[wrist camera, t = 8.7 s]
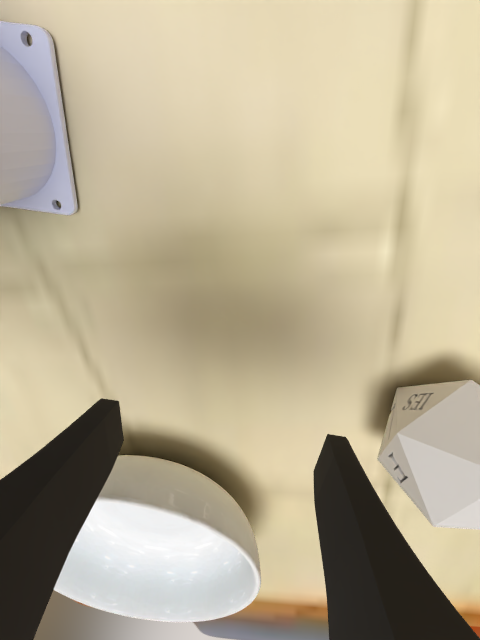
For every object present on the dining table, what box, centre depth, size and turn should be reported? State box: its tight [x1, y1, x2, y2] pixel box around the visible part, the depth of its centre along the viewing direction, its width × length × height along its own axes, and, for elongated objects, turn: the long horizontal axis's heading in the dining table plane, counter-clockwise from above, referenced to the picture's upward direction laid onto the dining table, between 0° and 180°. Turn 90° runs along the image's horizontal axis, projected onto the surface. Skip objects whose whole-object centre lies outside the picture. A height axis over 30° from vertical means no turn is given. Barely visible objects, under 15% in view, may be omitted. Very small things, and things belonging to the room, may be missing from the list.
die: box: [377, 380, 480, 529], centre depth 19 cm, size 8×9×10 cm
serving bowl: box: [53, 455, 261, 622], centre depth 29 cm, size 21×21×7 cm
